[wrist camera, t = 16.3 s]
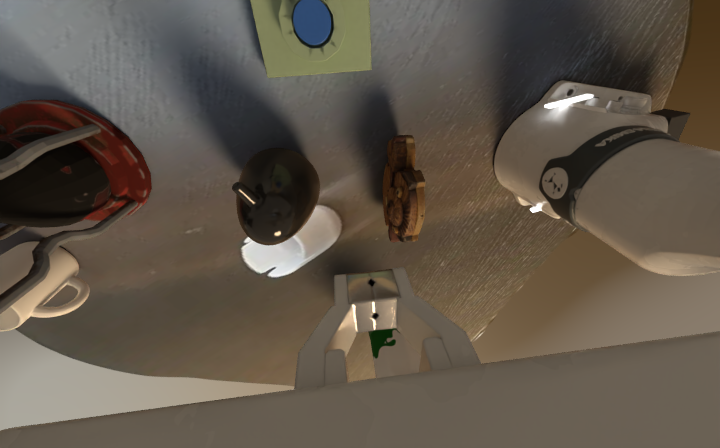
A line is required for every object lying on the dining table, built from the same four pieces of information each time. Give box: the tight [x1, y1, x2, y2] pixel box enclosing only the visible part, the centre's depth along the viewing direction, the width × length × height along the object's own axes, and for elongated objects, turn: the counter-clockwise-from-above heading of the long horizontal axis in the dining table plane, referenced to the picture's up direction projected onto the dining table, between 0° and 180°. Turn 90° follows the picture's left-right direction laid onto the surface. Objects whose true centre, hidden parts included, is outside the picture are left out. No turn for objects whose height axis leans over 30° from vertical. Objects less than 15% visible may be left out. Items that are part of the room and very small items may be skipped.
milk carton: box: [368, 328, 421, 378], centre depth 51 cm, size 9×9×20 cm
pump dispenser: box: [232, 148, 320, 245], centre depth 32 cm, size 10×10×15 cm
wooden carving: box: [383, 135, 425, 242], centre depth 37 cm, size 16×5×10 cm, turn 6°
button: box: [293, 0, 331, 45], centre depth 26 cm, size 4×4×2 cm
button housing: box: [250, 0, 371, 78], centre depth 28 cm, size 12×9×4 cm
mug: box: [0, 241, 90, 331], centre depth 39 cm, size 12×8×10 cm
